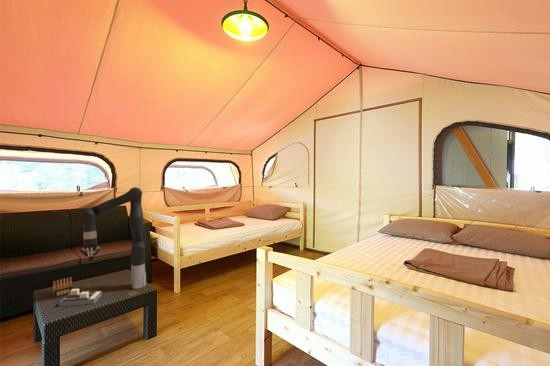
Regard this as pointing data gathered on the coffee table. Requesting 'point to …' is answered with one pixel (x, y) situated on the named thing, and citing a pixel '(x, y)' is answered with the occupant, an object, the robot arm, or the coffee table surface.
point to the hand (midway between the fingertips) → (91, 261)
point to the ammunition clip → (62, 288)
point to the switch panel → (80, 299)
